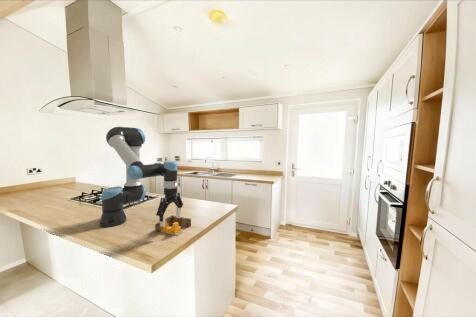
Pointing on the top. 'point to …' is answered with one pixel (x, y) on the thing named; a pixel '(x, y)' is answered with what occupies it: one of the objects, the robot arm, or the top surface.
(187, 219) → the brown wooden corner wall
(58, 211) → the top surface
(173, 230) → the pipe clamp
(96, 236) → the top surface
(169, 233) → the pad
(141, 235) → the top surface
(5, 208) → the top surface
